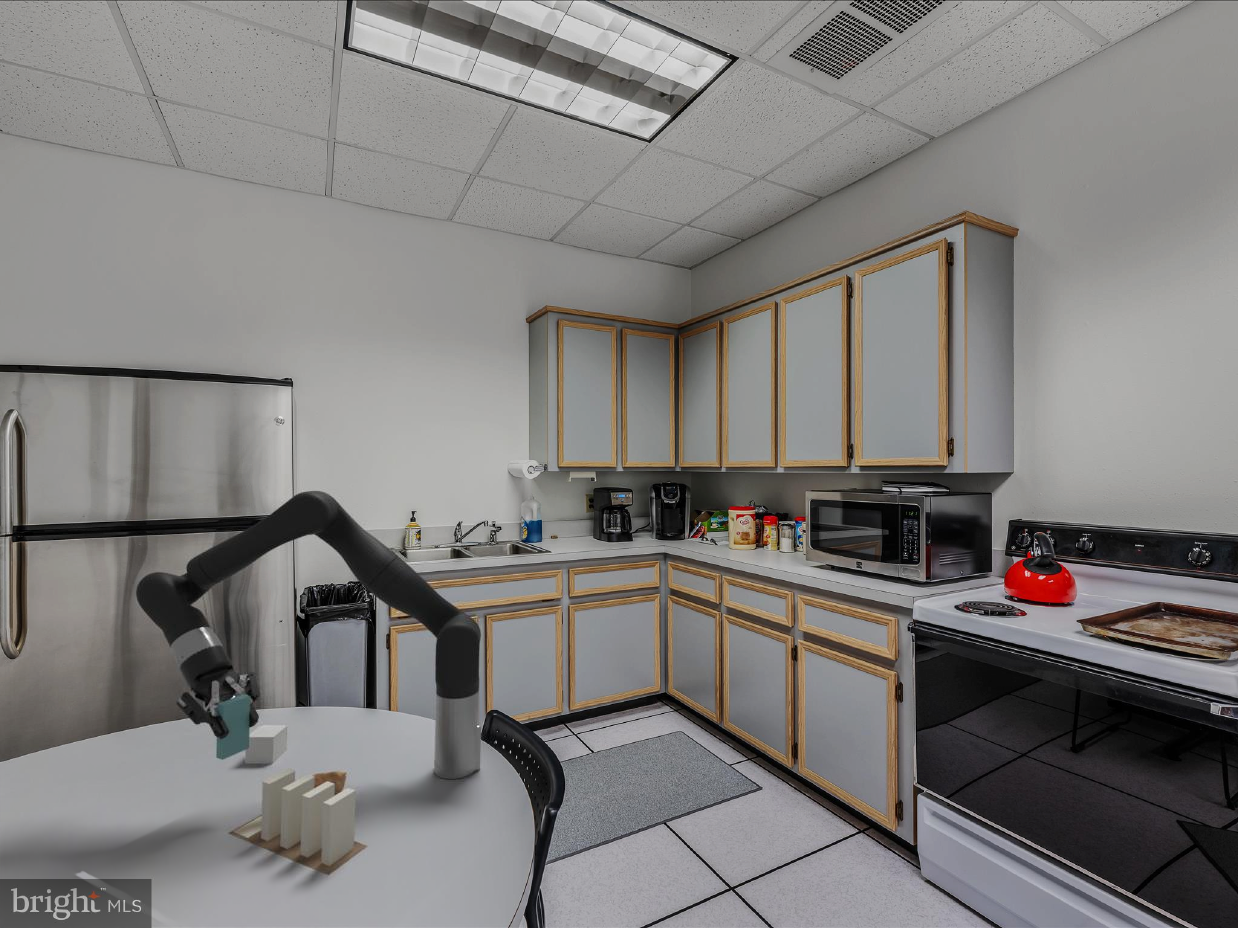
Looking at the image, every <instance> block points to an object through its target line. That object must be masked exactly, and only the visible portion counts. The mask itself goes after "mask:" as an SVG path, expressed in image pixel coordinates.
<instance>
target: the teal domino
mask: <svg viewBox="0 0 1238 928" xmlns="http://www.w3.org/2000/svg"><path fill="white" fill-rule="evenodd" d="M217 709H218V711H219V715H218V716H220V715H221V717H222V719H223V721H224V722H225V724H226V726H227V728H228V729H229V734H228V735H227V736H226V737H225V738H223V739H219V737H216V750H215V751H216V754H215V758H217V759H219V760H221V761H222V760H225V759H227V758H230V757H232V756H235V755H237V754H239V753H241V752H244V751H246V749H248V748H249V734H250V728H251V727H249V711H250V696H248V695H241V696H238V697H236V698H233V699H230V700H227V701H223V702H220V703H218V704H217Z"/></svg>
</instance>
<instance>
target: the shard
mask: <svg viewBox="0 0 1238 928" xmlns="http://www.w3.org/2000/svg"><path fill="white" fill-rule="evenodd" d="M312 776H313V777H315V782H314V788H316V787H318V786H320V785H322V784H323V783H325V782H327V781H328V782H331V783H334V784H335V790H334V796H335V795H337V794H338V793H340V792H342V791H343V789H344V787H345V783H346V780H347V772H345V771H328V772H321V773H315V774H313V775H312Z"/></svg>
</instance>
